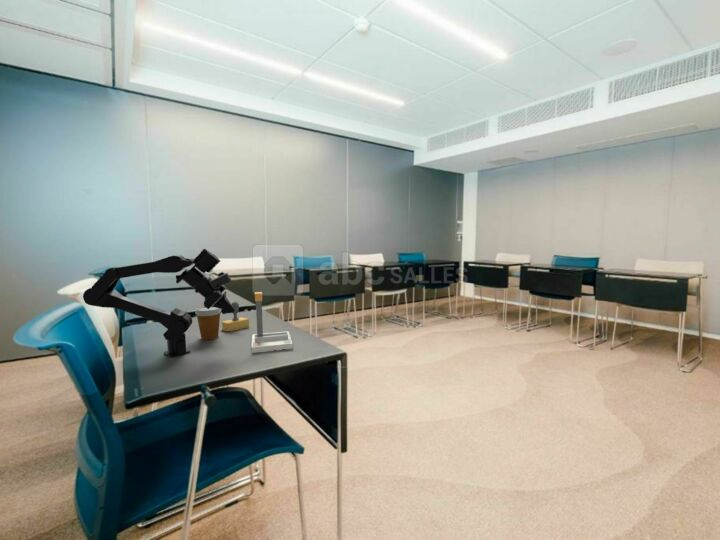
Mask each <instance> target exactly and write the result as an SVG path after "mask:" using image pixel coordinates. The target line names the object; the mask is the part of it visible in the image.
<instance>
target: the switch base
mask: <svg viewBox="0 0 720 540" xmlns="http://www.w3.org/2000/svg"><path fill="white" fill-rule="evenodd" d="M282 349H286V350H293V341H292V338H291V333H290V332H289V330H287V331H277V332H265V333H264V332H263V336H261V337H257V333H253V334H252V336H251V354H255V353H265V352H275V351H274V350H276V351H283V350H282Z"/></svg>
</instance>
